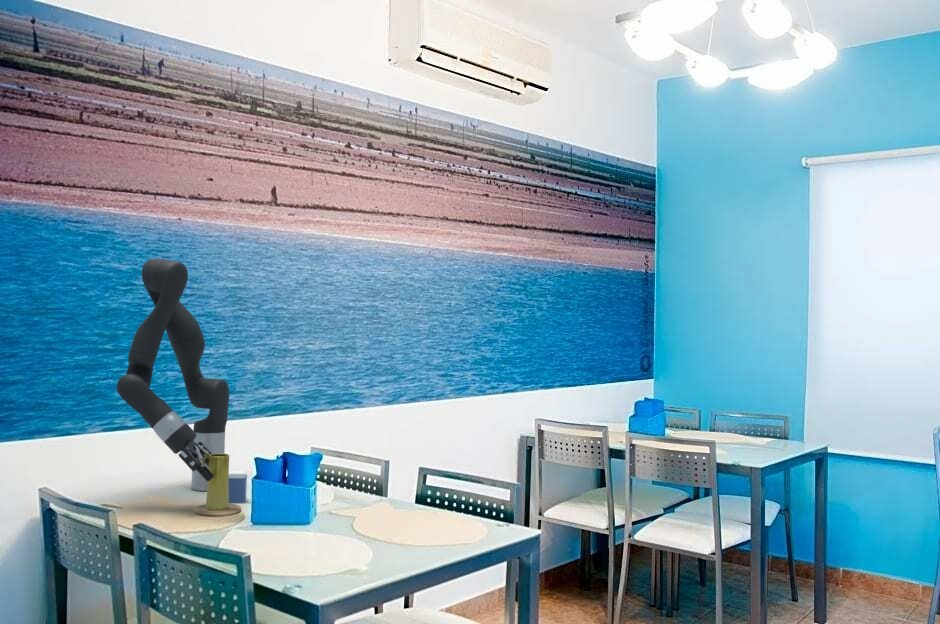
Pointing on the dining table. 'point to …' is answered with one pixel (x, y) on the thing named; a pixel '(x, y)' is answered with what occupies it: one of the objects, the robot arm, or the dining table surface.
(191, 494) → the dining table surface
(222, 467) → the vase
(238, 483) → the slate blue block
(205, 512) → the disc
